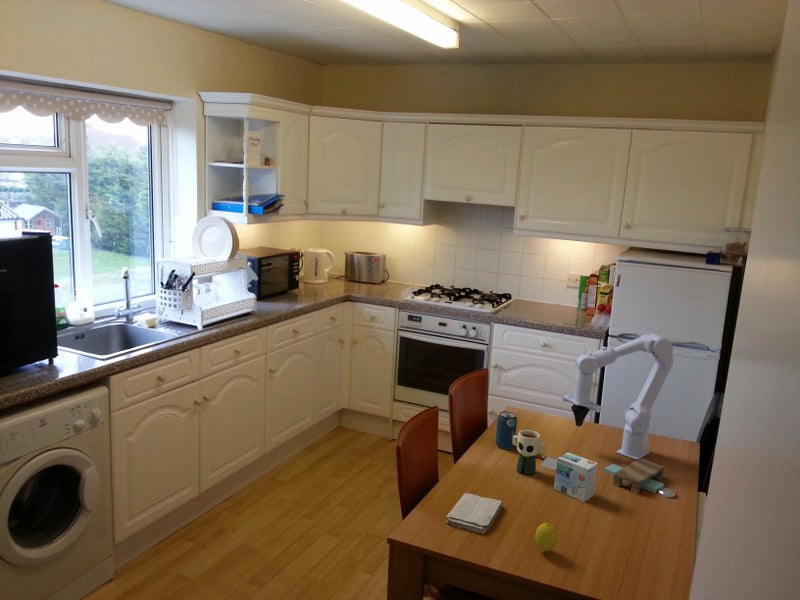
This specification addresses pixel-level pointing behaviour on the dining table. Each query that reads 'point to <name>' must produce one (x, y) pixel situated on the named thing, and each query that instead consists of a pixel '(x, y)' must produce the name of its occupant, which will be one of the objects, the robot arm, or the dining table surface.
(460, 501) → the washcloth
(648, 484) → the slat
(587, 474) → the light bulb box
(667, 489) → the steel disc
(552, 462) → the kitchen cleaver
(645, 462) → the shelf
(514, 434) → the soda can
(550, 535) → the lemon
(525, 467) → the character mug
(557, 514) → the dining table surface
